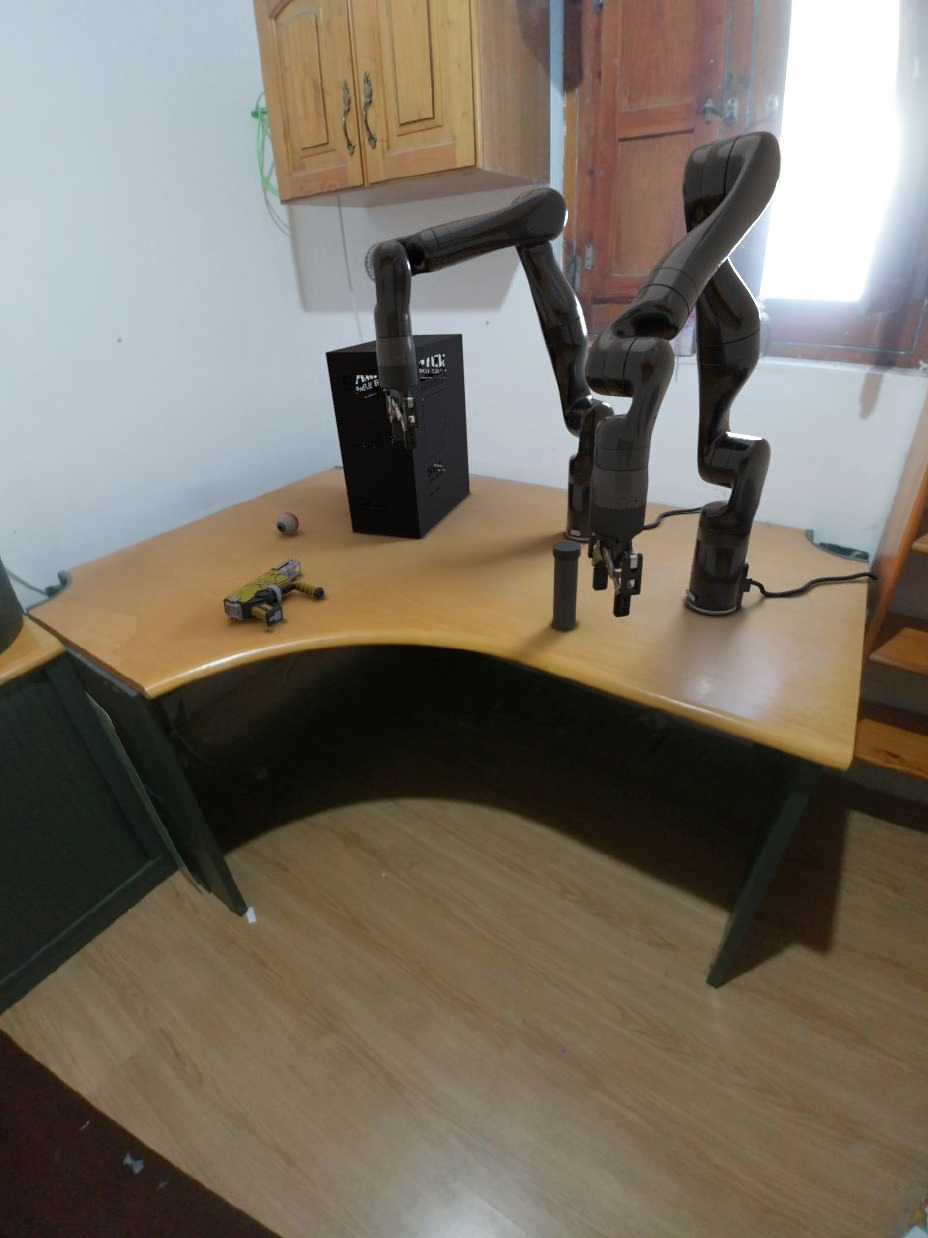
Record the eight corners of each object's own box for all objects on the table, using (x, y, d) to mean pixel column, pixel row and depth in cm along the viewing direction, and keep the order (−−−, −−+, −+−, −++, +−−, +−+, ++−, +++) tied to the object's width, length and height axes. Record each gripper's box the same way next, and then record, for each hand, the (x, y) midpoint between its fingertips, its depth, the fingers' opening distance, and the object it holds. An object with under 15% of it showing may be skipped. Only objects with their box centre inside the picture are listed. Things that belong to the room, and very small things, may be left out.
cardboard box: (410, 488, 194) (395, 335, 172) (469, 492, 188) (462, 333, 165) (352, 531, 164) (325, 352, 142) (420, 538, 158) (403, 351, 135)
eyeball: (273, 537, 164) (268, 516, 161) (287, 528, 169) (282, 508, 166) (291, 539, 161) (286, 518, 158) (305, 530, 166) (301, 510, 163)
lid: (556, 547, 112) (556, 538, 111) (583, 550, 110) (583, 541, 109) (549, 558, 108) (549, 549, 107) (577, 561, 106) (577, 552, 105)
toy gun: (343, 567, 137) (286, 555, 141) (282, 613, 117) (218, 598, 121) (344, 585, 139) (288, 574, 143) (284, 634, 119) (221, 619, 123)
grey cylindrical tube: (555, 617, 119) (558, 542, 111) (577, 620, 117) (581, 544, 109) (550, 628, 116) (551, 551, 107) (572, 631, 114) (575, 553, 106)
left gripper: (426, 362, 113) (433, 449, 121) (404, 355, 125) (411, 435, 133) (387, 367, 111) (397, 455, 119) (369, 359, 123) (378, 440, 131)
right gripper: (668, 511, 76) (654, 622, 84) (624, 479, 88) (615, 578, 96) (611, 517, 75) (602, 629, 83) (574, 484, 87) (570, 584, 95)
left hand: (404, 444), depth 126 cm, fingers open, 8 cm apart
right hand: (609, 601), depth 90 cm, fingers open, 8 cm apart
